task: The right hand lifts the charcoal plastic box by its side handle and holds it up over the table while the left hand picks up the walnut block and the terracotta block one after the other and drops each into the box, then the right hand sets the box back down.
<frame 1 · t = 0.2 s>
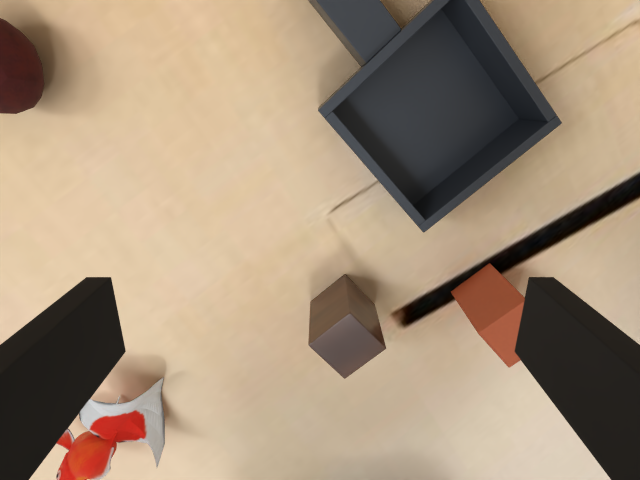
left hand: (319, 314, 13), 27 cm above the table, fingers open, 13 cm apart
box: (422, 113, 37), on the table
walnut block: (342, 303, 43), on the table
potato: (21, 68, 35), on the table
terracotta block: (483, 292, 43), on the table
fish: (126, 404, 48), on the table
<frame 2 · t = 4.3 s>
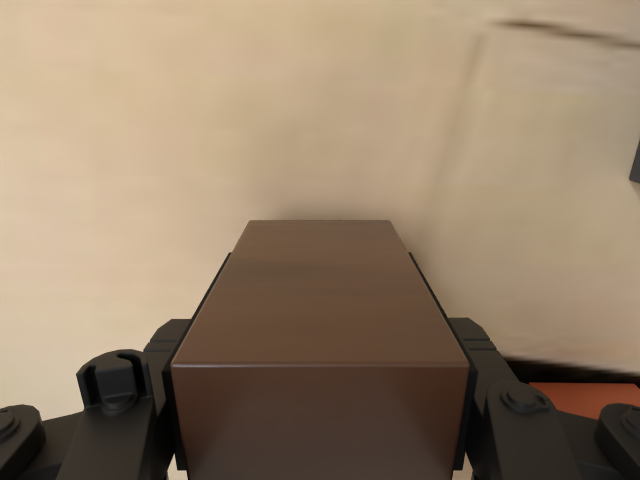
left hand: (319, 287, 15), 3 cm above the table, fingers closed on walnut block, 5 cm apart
walnut block: (319, 283, 15), point 2 cm above the table, touching left hand
terracotta block: (569, 422, 20), on the table
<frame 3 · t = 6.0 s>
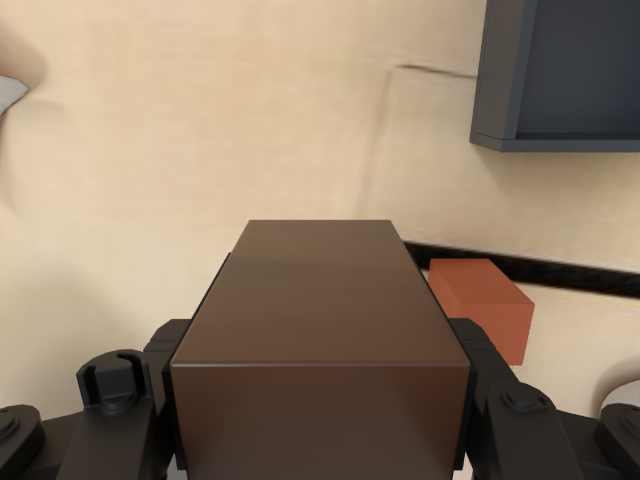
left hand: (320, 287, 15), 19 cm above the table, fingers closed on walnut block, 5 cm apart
box: (575, 45, 29), on the table, touching right hand
walnut block: (319, 283, 15), point 18 cm above the table, touching left hand
terracotta block: (456, 284, 35), on the table
when the left hand's fingers open (17 cm above the table, at t = 9.8 s): walnut block drops 8 cm, resting on box.
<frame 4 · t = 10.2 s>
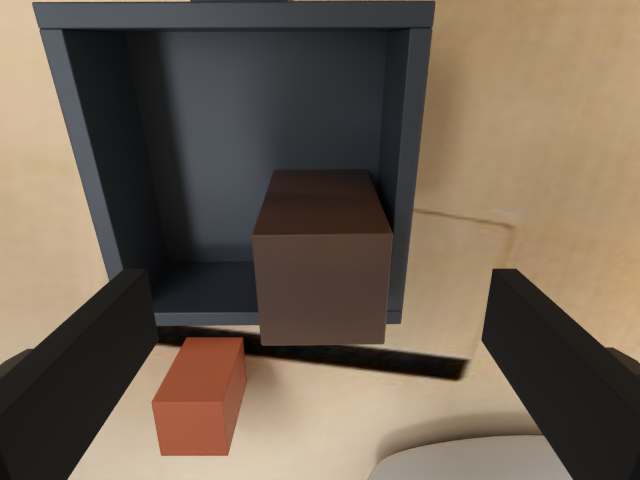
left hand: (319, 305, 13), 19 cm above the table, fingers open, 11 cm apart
box: (266, 157, 22), point 9 cm above the table, tilted 6°, touching right hand, walnut block
projector: (476, 475, 41), on the table
walnut block: (320, 213, 22), point 9 cm above the table, tilted 6°, touching box
terracotta block: (217, 360, 36), on the table
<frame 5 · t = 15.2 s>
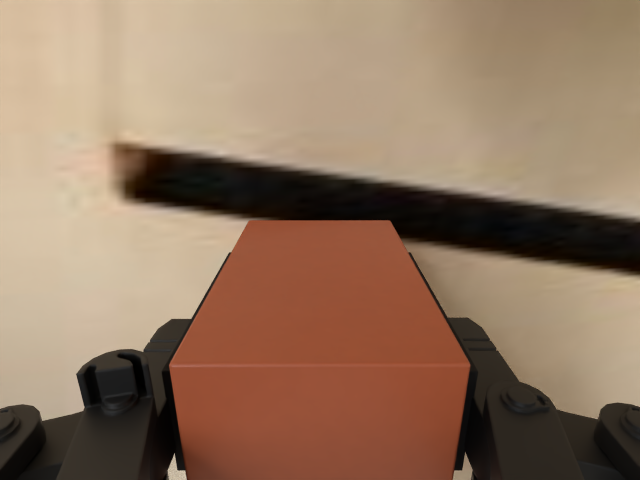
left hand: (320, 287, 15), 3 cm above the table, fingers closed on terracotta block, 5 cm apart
terracotta block: (319, 283, 15), point 3 cm above the table, touching left hand
when the left hand's fingers open (17 cm above the table, at t = 17.9 s): terracotta block drops 11 cm, resting on box.
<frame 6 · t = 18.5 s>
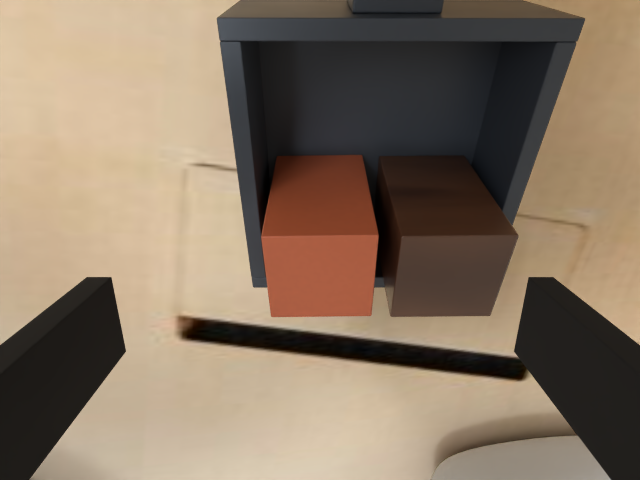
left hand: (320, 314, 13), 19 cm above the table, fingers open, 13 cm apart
box: (370, 134, 23), point 6 cm above the table, tilted 17°, touching right hand, terracotta block, walnut block
projector: (534, 475, 41), on the table
walnut block: (415, 192, 25), point 6 cm above the table, tilted 17°, touching box
terracotta block: (320, 192, 25), point 6 cm above the table, tilted 17°, touching box
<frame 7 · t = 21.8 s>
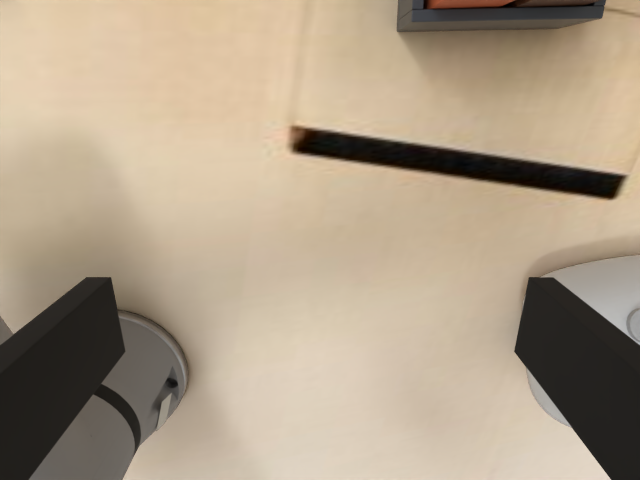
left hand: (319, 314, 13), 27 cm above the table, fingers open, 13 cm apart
projector: (616, 307, 43), on the table
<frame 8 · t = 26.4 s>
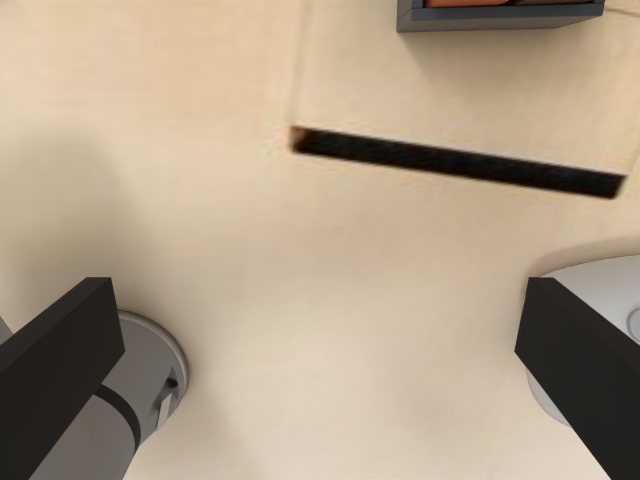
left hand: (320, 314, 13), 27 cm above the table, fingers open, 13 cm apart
projector: (616, 307, 43), on the table
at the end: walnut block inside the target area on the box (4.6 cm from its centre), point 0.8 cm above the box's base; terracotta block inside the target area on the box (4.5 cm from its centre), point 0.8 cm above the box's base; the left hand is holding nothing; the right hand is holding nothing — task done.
